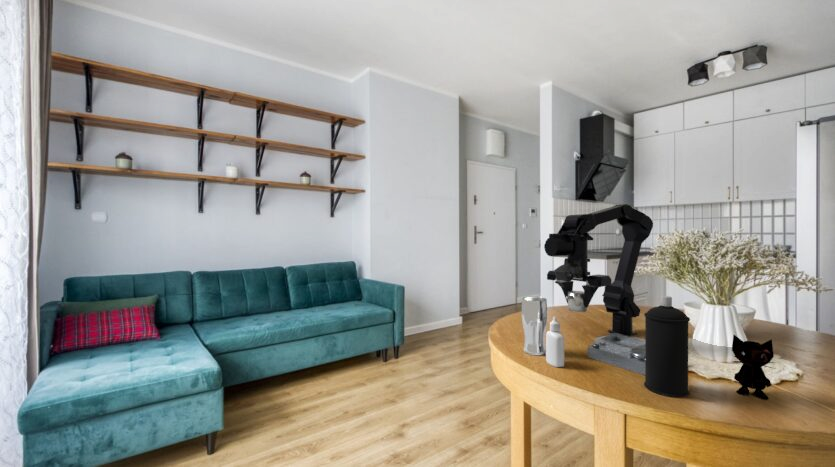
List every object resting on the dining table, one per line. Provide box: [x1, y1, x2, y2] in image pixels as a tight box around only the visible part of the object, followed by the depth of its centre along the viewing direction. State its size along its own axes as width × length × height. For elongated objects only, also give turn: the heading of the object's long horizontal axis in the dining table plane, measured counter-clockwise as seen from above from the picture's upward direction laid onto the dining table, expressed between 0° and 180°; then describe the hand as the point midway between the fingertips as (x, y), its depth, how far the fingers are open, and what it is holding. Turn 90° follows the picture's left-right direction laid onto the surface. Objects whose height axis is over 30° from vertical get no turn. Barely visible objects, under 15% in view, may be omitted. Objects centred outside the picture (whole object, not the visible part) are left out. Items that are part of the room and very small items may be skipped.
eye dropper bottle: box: [545, 316, 565, 368], centre depth 97 cm, size 4×6×12 cm
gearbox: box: [587, 333, 645, 376], centre depth 98 cm, size 14×16×4 cm
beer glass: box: [521, 296, 548, 356], centre depth 106 cm, size 7×7×15 cm
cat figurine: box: [731, 334, 776, 401], centre depth 78 cm, size 7×7×12 cm
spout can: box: [565, 290, 588, 313], centre depth 116 cm, size 8×6×6 cm
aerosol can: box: [643, 295, 691, 398], centre depth 81 cm, size 8×8×20 cm
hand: (577, 305), depth 117 cm, fingers closed on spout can, 5 cm apart
